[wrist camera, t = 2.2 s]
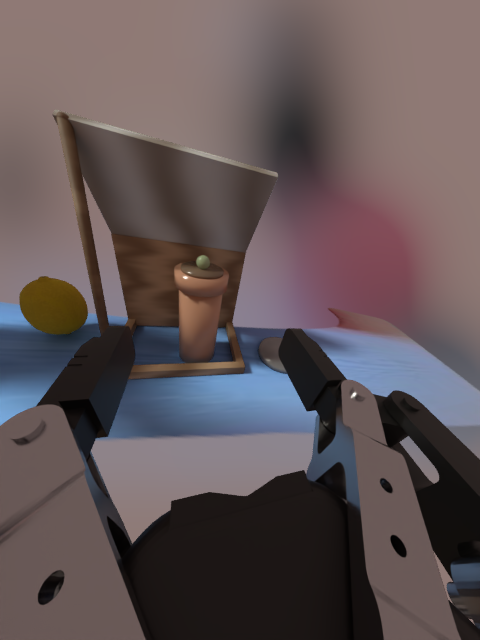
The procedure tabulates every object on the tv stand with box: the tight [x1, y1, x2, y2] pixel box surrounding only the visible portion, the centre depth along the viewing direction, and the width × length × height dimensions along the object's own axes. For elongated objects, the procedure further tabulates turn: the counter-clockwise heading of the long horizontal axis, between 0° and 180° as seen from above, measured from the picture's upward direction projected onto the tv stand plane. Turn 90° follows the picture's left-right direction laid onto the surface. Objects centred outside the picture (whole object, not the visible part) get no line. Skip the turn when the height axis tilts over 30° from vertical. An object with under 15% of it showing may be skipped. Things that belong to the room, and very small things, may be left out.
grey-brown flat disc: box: [258, 337, 287, 374], centre depth 28 cm, size 7×7×1 cm
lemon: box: [20, 276, 88, 335], centre depth 22 cm, size 6×6×8 cm
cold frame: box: [53, 110, 278, 379], centre depth 20 cm, size 16×11×21 cm
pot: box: [174, 255, 229, 363], centre depth 21 cm, size 6×6×14 cm
